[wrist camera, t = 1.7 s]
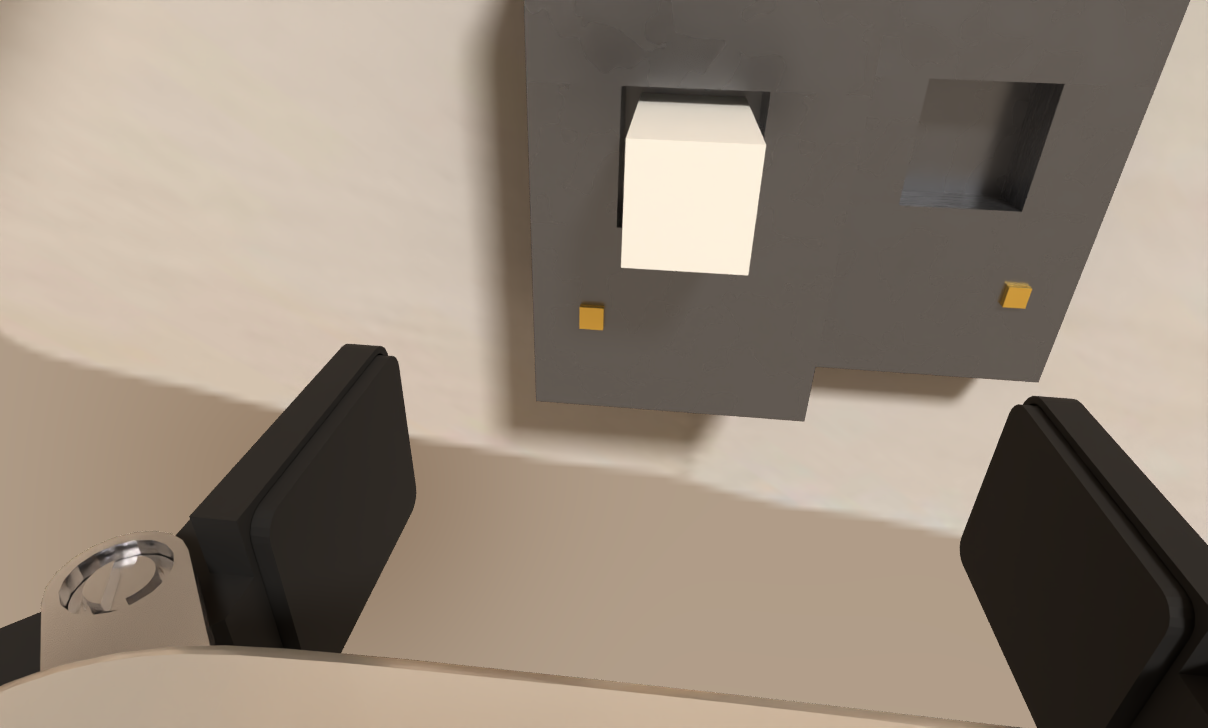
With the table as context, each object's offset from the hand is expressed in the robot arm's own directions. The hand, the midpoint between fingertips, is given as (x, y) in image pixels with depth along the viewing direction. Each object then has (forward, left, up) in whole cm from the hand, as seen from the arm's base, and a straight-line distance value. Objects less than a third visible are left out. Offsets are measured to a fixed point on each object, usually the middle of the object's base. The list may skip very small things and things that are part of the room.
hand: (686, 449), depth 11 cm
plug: (0, 0, -20) cm, 20 cm away
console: (0, +6, -26) cm, 27 cm away
